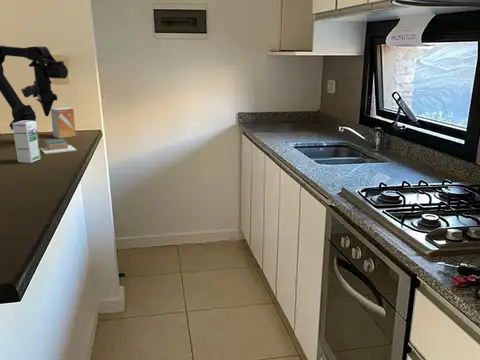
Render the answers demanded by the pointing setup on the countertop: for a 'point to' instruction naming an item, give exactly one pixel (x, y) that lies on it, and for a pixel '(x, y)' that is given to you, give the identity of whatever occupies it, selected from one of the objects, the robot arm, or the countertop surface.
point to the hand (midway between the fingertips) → (46, 116)
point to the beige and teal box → (56, 144)
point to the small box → (63, 122)
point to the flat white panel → (57, 150)
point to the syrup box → (26, 141)
